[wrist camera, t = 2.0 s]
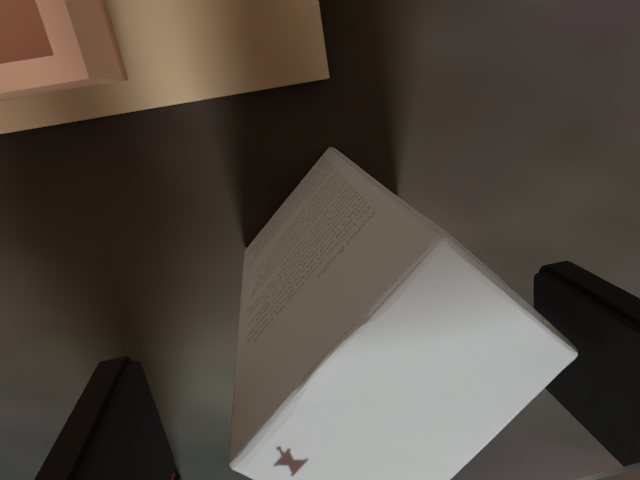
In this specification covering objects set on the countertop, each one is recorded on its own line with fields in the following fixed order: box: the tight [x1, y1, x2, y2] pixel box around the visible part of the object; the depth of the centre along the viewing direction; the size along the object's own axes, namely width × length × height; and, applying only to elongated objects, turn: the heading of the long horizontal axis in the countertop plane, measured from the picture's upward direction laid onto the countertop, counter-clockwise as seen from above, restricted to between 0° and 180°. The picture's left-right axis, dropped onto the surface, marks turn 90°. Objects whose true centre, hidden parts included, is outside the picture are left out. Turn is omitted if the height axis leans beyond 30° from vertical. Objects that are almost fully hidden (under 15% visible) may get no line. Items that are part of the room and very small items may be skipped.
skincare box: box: [229, 147, 578, 480], centre depth 14 cm, size 6×4×12 cm
